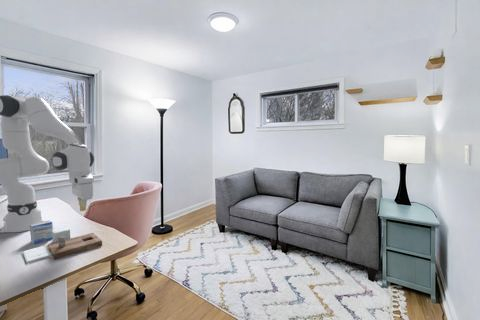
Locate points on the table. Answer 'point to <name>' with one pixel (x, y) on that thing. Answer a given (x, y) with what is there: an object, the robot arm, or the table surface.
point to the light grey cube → (60, 233)
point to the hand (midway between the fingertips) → (82, 206)
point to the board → (73, 245)
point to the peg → (81, 206)
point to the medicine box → (41, 231)
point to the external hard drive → (37, 254)
